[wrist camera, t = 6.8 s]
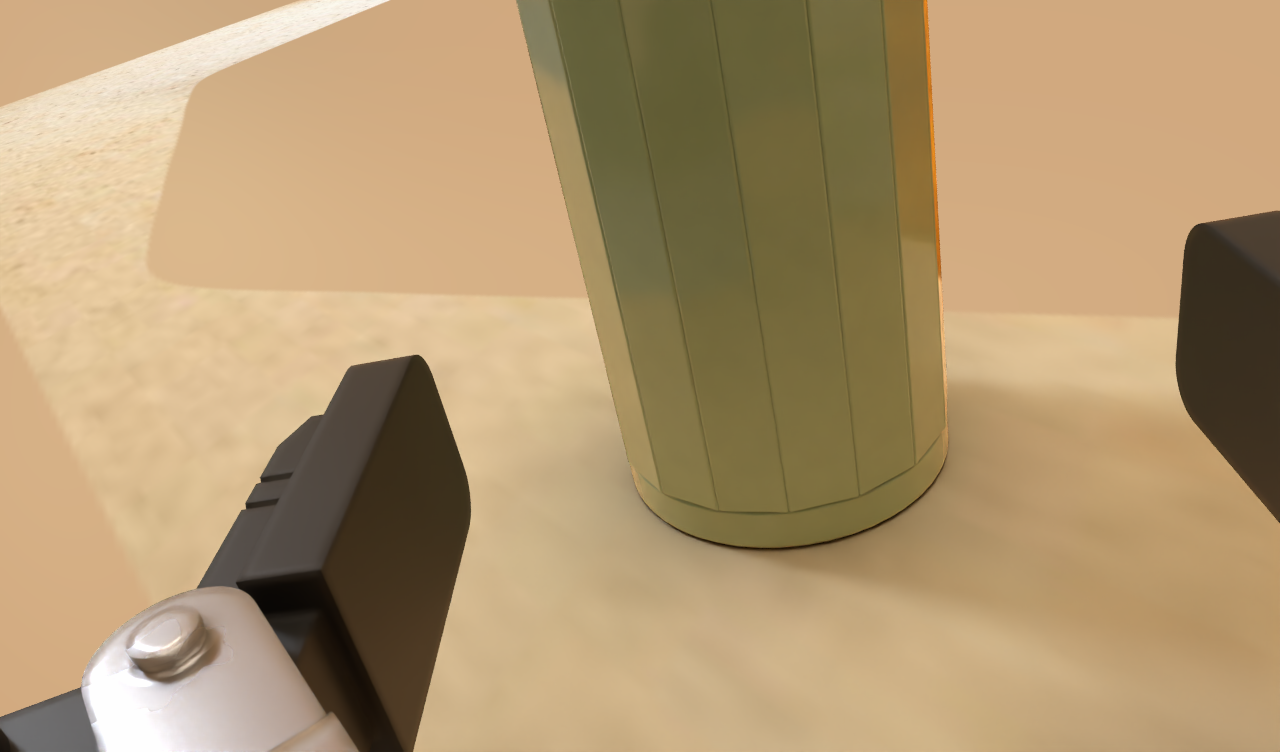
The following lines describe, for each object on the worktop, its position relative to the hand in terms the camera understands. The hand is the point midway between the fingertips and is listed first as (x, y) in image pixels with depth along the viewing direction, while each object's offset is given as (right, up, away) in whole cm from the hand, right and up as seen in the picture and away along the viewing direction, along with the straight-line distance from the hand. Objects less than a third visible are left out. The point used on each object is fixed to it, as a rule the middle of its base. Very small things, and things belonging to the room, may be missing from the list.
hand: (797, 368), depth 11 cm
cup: (+1, -1, +9) cm, 9 cm away
